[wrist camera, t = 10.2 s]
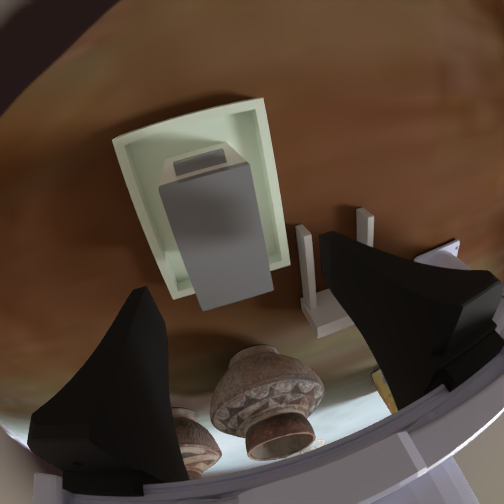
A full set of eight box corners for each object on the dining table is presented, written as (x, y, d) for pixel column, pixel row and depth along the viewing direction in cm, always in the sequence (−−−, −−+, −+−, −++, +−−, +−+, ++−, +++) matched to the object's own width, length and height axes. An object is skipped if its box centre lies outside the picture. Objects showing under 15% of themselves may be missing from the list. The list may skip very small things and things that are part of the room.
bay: (362, 287, 28) (383, 312, 25) (301, 309, 27) (317, 338, 24) (365, 206, 23) (393, 226, 20) (291, 227, 23) (312, 252, 19)
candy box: (370, 373, 39) (417, 452, 26) (393, 358, 38) (444, 434, 25) (377, 391, 43) (416, 458, 30) (397, 378, 43) (439, 443, 30)
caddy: (247, 235, 21) (273, 290, 16) (193, 251, 21) (202, 311, 15) (224, 133, 17) (247, 151, 12) (162, 150, 17) (154, 176, 11)
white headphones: (282, 457, 52) (287, 472, 48) (289, 444, 48) (295, 461, 44) (318, 448, 54) (324, 462, 50) (328, 434, 50) (335, 449, 47)
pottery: (123, 418, 31) (126, 498, 21) (254, 307, 26) (300, 423, 16) (189, 437, 37) (202, 506, 27) (321, 347, 32) (367, 433, 22)
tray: (283, 252, 24) (290, 264, 22) (172, 285, 23) (173, 299, 21) (255, 97, 17) (263, 97, 16) (117, 136, 16) (111, 139, 15)
